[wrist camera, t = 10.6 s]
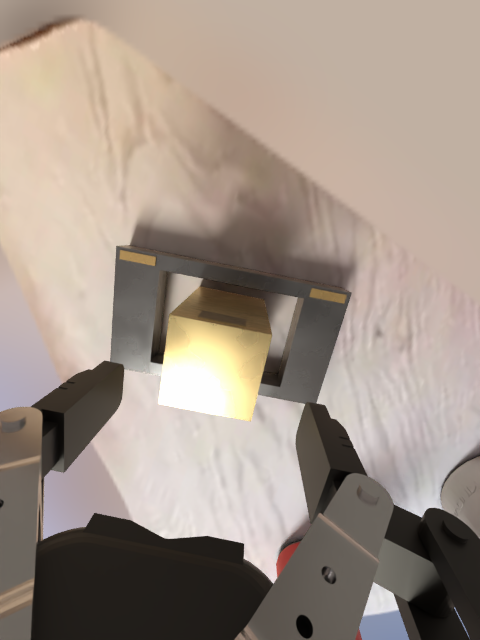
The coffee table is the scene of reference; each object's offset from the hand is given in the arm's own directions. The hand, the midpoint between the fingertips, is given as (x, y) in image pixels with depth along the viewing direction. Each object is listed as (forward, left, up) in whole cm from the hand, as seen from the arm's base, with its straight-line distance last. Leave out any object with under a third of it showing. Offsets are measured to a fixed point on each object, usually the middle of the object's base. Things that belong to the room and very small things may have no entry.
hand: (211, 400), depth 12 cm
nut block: (0, 0, -10) cm, 10 cm away
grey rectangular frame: (0, 0, -10) cm, 10 cm away
